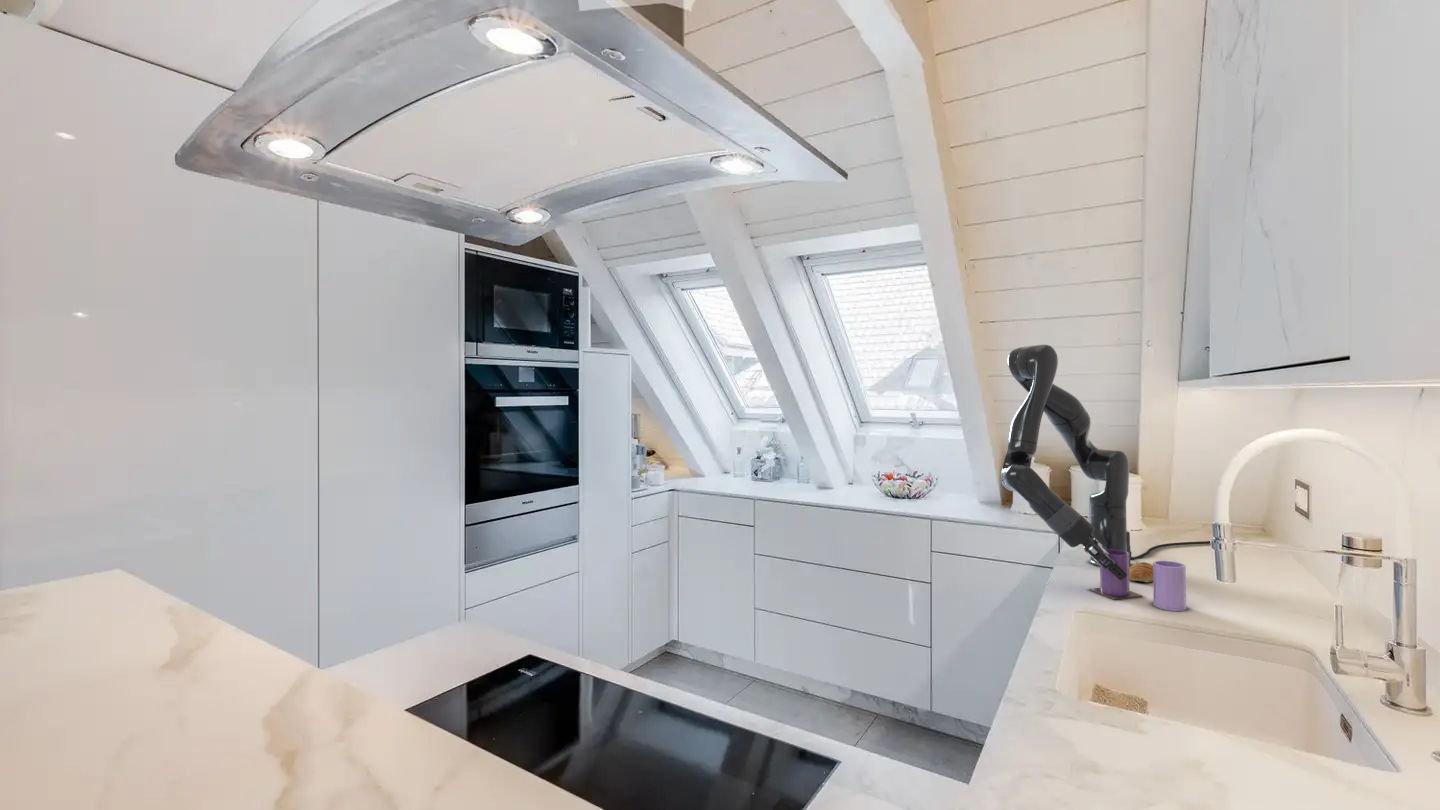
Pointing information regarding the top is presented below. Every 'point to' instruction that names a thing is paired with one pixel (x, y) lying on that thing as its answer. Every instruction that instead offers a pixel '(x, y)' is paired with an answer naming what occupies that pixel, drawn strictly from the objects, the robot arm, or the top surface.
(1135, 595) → the coaster
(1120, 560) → the plum cup
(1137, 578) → the pastry
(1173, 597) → the lilac cup
